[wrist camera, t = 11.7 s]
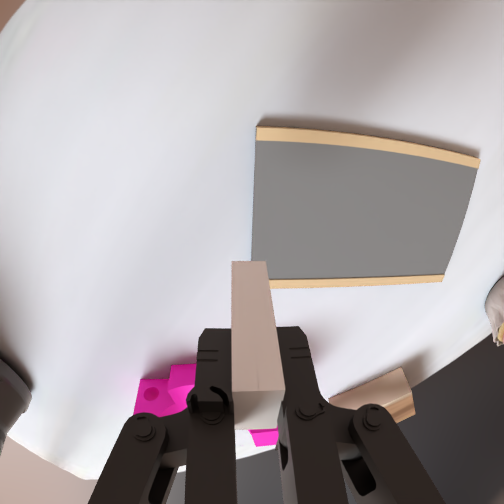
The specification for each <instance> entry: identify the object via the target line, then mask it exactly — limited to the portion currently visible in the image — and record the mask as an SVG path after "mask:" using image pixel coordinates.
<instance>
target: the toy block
mask: <svg viewBox="0 0 504 504" xmlns="http://www.w3.org/2000/svg"><path fill="white" fill-rule="evenodd" d="M195 373H196V364H182V365H171V370H170V377H169V379H140V384H139V389H138V394H137V398H136V403H135V408H134V414H137V413H142V412H147V413H152V414H154V415H156V416H158V417H162V416H167V415H171V414H175V413H178V412H181V411H182V410H184V409H185V408H187V404H186V398H187V395H188V393H189V392H190V390H191V389H192V388H193V387H194V385H195ZM134 414H133V415H134ZM248 431H249V432H250V434H251V435H252V437H253V440H254V443H255V445H256V447H257V446H267V445H276V443H277V440H278V436H279V434H278V425H277V428H273V429H251V430H248Z"/></svg>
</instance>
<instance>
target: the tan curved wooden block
mask: <svg viewBox="0 0 504 504" xmlns="http://www.w3.org/2000/svg"><path fill="white" fill-rule="evenodd" d="M328 399H329V403H330V404H332V405H334V406H337V407H341V408H347V409H354V410H357V409H358V408H360V407H361V406H363V405H365V404H370V403H372V404H379V405H380V406H382V407H384V408H386V410H387V411H388V412H389V413H390V414H391V416H392V417H393V419H394V421H395V422H396V423H397V422H400V421H402V420H404V419H406V418H408V417H410V416H412V415H414V414H415V409H414V404H413V398H412V391H411V389H410V386H409V384H408V382H407V379H406V377H405V375H404V372H403V370H402V368H401V367H400V368H398V369H396V370H394V371H392V372H389V373H387V374H385V375H383V376H381V377H379V378H377V379H374V380H372V381H370V382H368V383H365V384H363V385H361V386H358V387H356V388H354V389H351V390H349V391H346V392H344V393H341V394H339V395H336V396H334V397H331V398H328Z"/></svg>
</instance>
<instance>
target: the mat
mask: <svg viewBox="0 0 504 504" xmlns="http://www.w3.org/2000/svg"><path fill="white" fill-rule="evenodd" d="M479 164H480V159H478V158H476V157H474V156H470V155H466V154H462V153H458V152H454V151H450V150H446V149H441V148H437V147H432V146H427V145H423V144H418V143H412V142H407V141H402V140H396V139H390V138H384V137H377V136H370V135H363V134H355V133H347V132H338V131H329V130H318V129H306V128H291V127H271V126H256V142H255V169H254V197H253V224H252V252H251V261H266V266H267V272H268V278H269V285H270V289H276V288H322V287H352V286H376V285H396V284H414V283H431V282H442V280H443V278H444V273H445V271H446V269H447V266H448V263H449V261H450V258H451V256H452V253H453V250H454V247H455V245H456V242H457V239H458V236H459V233H460V230H461V227H462V224H463V221H464V218H465V214H466V211H467V208H468V204H469V201H470V197H471V194H472V190H473V186H474V182H475V178H476V174H477V170H478V169H479Z"/></svg>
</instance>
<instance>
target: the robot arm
mask: <svg viewBox="0 0 504 504" xmlns="http://www.w3.org/2000/svg"><path fill="white" fill-rule="evenodd" d="M31 399H32V395H31V392H30V390H29V388H28V387H27V385H26V384H25V383H24V382H23V380H22V379H21V378H20V377H19V376H18V375H17V374H16V373H15V372H14V371H13V370H12V369H11V368H10V367H9V366H8V365H7V364H6V363H4V362H3V361H2V360H1V359H0V455H1V451H2V448H3V445H4V441H5V438H6V435H7V433H8V431H9V430H10V429H11V427H12V426H13V425H14V424H15V422H16V421H17V420H18V418H19V417H20V415H21V414H22V413H25V412H26V411H27V409H28V407H29V404H30V401H31ZM186 404H187V408H185V409H184V410H182V411H181V412H178V413H175V414H171V415H167V416H162V417H158V416H156V415H154V414H152V413H147V412H142V413H137V414H134V415H133V416H131V417H129V419H128V420H127V421H126V423H125V424H124V426H123V428H122V430H121V432H120V434H119V437H118V439H117V441H116V443H115V445H114V447H113V449H112V451H111V454H110V456H109V458H108V460H107V462H106V464H105V466H104V469H103V471H102V473H101V475H100V477H99V480H98V482H97V484H96V486H95V489H94V491H93V493H92V495H91V498H90V500H89V502H88V504H166V501H167V499H168V496H169V493H170V490H171V487H172V485H173V482H174V479H175V476H176V473H177V470H178V468H179V466H183V465H186V482H185V484H186V485H185V504H238V503H237V481H236V452H235V430H251V429H273V428H277V425H278V434H279V436H278V440H277V443H276V449H275V450H278V454H279V463H280V473H281V482H282V492H283V502H284V504H348V499H347V493H346V488H345V483H344V479H345V481H346V483H347V485H348V487H349V489H350V490H351V493H352V494H353V496H354V498H355V500H356V502H357V504H446V503H445V502H444V500H443V498H442V497H441V495H440V493H439V492H438V490H437V488H436V487H435V485H434V483H433V482H432V480H431V478H430V477H429V475H428V474H427V472H426V470H425V469H424V467H423V465H422V464H421V462H420V460H419V459H418V457H417V456H416V454H415V453H414V451H413V449H412V448H411V446H410V444H409V443H408V441H407V440H406V438H405V436H404V435H403V433H402V432H401V430H400V428H399V427H398V425H397V424H396V422H395V421H394V419H393V417H392V416H391V414H390V413H389V412H388V411H387V410H386V408H384V407H382V406H380V405H379V404H372V403H370V404H365V405H363V406H361V407H360V408H358V409H357V410H354V409H347V408H341V407H337V406H334V405H332V404H330V403H328V402H327V401H326V400H325V399H324V398H323V397H322V395H321V394H320V391H319V388H318V383H317V379H316V374H315V370H314V366H313V362H312V358H311V353H310V349H309V345H308V341H307V336H306V335H305V334H304V332H303V331H302V330H301V329H300V327H299V326H292V327H276V323H275V317H274V310H273V304H272V297H271V291H270V285H269V278H268V272H267V266H266V261H232V292H231V329H217V328H205V330H204V331H203V333H202V334H201V336H200V337H199V341H198V352H197V362H196V373H195V385H194V387H193V388H192V389H191V390H190V392H189V393H188V395H187V398H186ZM343 477H344V478H343Z"/></svg>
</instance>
